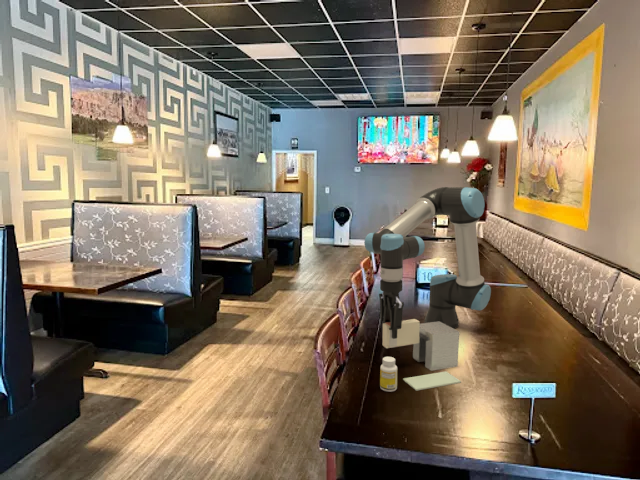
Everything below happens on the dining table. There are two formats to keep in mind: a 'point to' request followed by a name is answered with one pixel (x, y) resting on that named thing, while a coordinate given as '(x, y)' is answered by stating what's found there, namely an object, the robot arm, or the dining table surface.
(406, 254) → the robot arm
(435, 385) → the pad
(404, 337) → the cream rectangular block
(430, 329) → the plate
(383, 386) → the supplement bottle
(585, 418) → the dining table surface
